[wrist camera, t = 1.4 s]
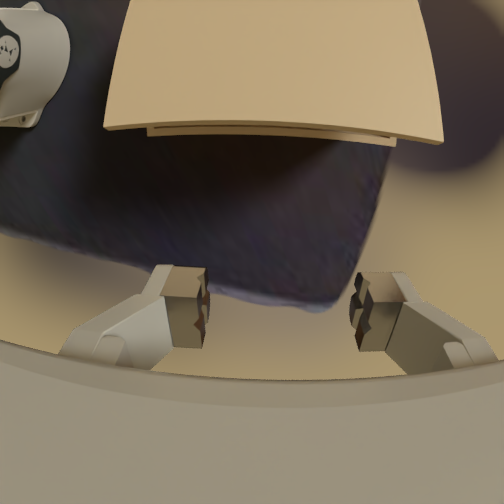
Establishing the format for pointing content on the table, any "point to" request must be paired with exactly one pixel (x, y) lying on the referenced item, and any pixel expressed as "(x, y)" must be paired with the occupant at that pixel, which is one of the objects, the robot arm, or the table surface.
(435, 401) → the robot arm
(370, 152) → the table surface
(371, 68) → the carton lid
